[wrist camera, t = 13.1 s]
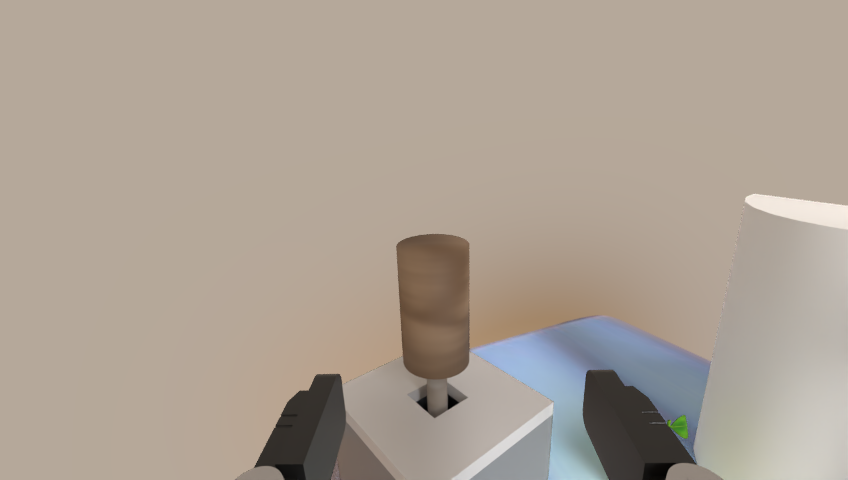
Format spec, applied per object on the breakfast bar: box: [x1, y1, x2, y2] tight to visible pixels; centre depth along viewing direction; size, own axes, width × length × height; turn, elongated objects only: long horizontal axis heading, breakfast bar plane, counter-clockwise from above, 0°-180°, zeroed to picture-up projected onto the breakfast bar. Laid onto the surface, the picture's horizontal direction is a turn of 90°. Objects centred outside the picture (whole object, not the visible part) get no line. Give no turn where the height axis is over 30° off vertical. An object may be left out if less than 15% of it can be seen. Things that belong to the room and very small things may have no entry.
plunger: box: [396, 234, 469, 418], centre depth 28 cm, size 8×8×27 cm
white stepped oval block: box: [693, 194, 848, 480], centre depth 36 cm, size 17×17×28 cm
